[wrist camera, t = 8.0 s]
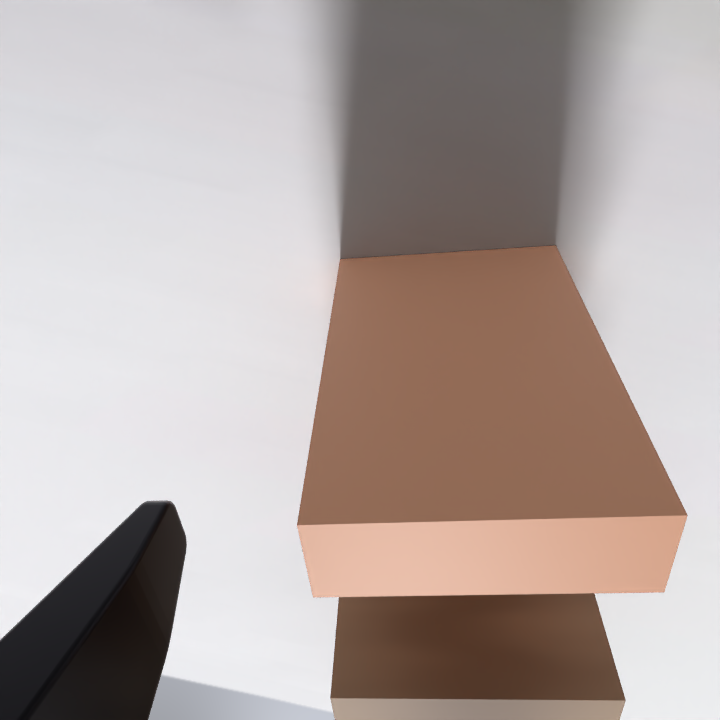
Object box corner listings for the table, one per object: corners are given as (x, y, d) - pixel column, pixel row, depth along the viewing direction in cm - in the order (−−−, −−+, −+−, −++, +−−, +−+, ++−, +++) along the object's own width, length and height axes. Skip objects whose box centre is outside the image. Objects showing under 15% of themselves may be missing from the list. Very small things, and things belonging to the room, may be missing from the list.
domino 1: (555, 245, 14) (688, 515, 8) (550, 305, 15) (663, 591, 9) (340, 258, 15) (296, 525, 8) (346, 316, 16) (313, 597, 9)
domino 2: (538, 401, 17) (626, 701, 11) (533, 444, 18) (611, 744, 11) (354, 407, 18) (330, 698, 11) (359, 449, 18) (339, 741, 12)
